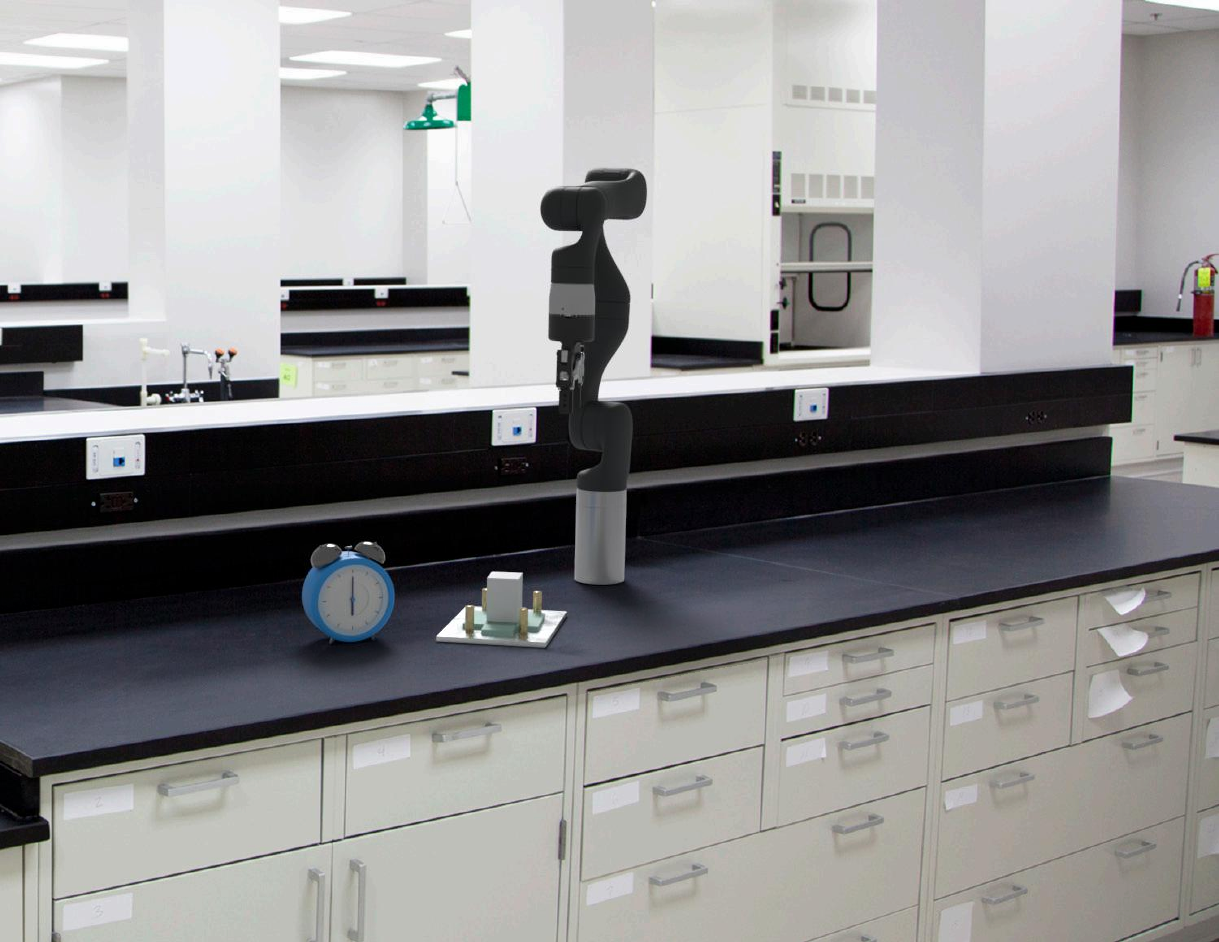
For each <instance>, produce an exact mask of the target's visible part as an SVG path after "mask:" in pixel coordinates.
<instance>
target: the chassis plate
mask: <svg viewBox="0 0 1219 942" xmlns="http://www.w3.org/2000/svg"><path fill="white" fill-rule="evenodd" d="M481 590H482V591H481V606H475V605H472V604H471V605H470V604H468V605H465V606H464V608H463V609H462V610H461V611H460V612H459V613H458V614H457V615H456V616H454V618H453V619H452V620H450V622H449V623H448V624H447V625H446V626H445V627H444V628H443V629H442V630H441V631H439V633H438V634H437V635H436V637H435V641H436V642H441V643H443V642H444V643H457V644H458V643H459V644H460V643H461V644H474V645H475V644H476V645H477V644H478V645H490V646H491V645H493V646H494V645H495V646H507V647H509V646H510V647H511V646H512V647H529V648H542V649H543V648H546V647H547V646H548V645H549V643H550V642H551V640H552V639H553V638H554V635H555V634H556V633H557V631H558V630H559V628H560V627H561V625H562V624H563V623H564V621H565V620H566V618H567V615H568V614H567V613H568V612H567V611H565V610H548V609H546V610H544V609H542V605H543V601H542V600H543V592H542V591H540V590H534V591H532V593H533V595H532V597H533V598H532V609H529V608H527V607H522V608H520V609H519V631H516V632H515V634H514V635H513V636H499V635H481V629H474V610H475V611H487V587H484V588H482V589H481ZM528 613H545V619H544V621H543V623H542V625H541V627H540V629H539V631H538V632H536V631H528ZM464 621H465V628H462V623H463V622H464Z"/></svg>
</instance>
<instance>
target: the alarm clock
mask: <svg viewBox="0 0 1219 942" xmlns="http://www.w3.org/2000/svg"><path fill="white" fill-rule="evenodd" d="M344 549H345V550H347V551H342V549H341V547H339V546H338V545H337V544H335V543H325V544H322V545H321V544H320V545H319V546H318V547H317V548H316V549H315V550H314V551H313V552H312V555H311V557H310V563H311V566H312V568H311V569H310V570H309V571H308V574H307V575H306V578H305V580H304V582H303V586H302V591H301V600H302V601H301V602H302V606H303V610H304V612H305V614H306V616H307V617H308V619H309V620H310V623H312V624H313V625H314V626H315V627H316V628H318V630H320V631H321V632H323V634H324V635H326V636H328V637H329V638H330V640H329V645H332V644H333V643H334V641H335V640H336V641H338V642H345V643H356V642H360V641H363V640H366V639H369V638H371V640H372V641H375V637H374V635H375V634H377V633H378V632H379V631H380V630H381V629H382V628H383V627H384V626H385V625H386V624H387V622H388V620H390V617H391V615H392V613H393V610H394V606H395V597H396V596H395V587H394V583H393V581H392V579H391V577H390V576H389V575H390V574H389V573H388V572H387V571H386V570H385V569H384V567H382V566H381V565H380V564H384V562H385V561H386V555H385V552H384V550H383V549H382V547H381V546H380V545H378V543H377V541H374V542H371V541H361V542H358V544H356V545H355V547H354V550H355V551H357V552H355V551H350V550H351V549H353V546H352V545H349V546H345V547H344ZM370 558H371V559H370ZM374 560H375V561H374ZM377 562H378V563H380V564H378V563H377Z"/></svg>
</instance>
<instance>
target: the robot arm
mask: <svg viewBox="0 0 1219 942" xmlns="http://www.w3.org/2000/svg"><path fill="white" fill-rule="evenodd" d="M647 198H648V187H647V181H646V177H645V176H644V174H643V173H642V172H641V171H639V170H638V169H635V168H628V167H624V168H622V167H603V166H602V167H601V166H600V167H599V166H595V167H592V168H590V169H588V171H587V172H586V175H585V179H584V183H581V184H578V185H570V186H569V185H560V186H559V185H557V186H554V187H551V188H549V189H548V190H547V191H546V192H545V193H544V195H543V197H542V198H541V201H540V211H539V212H540V217H541V219H542V221H543V223H544V225H546V227H548V228H549V229H551V230H553V231H558V232H582V233H581V236H580V238H579V239H578V240H577V241H576V242H575V243H573V244H569V245H568V244H567V245H563V246H558V247H556V248H554V250H552V253H551V257H550V258H551V259H550V261H551V262H550V263H551V264H550V265H551V266H550V267H551V268H550V289H549V296H548V325H547V326H548V331H547V332H548V333H547V336H548V337H547V338H548V339H549V341H551V342H559V343H561V348H560V349H557V351H556V375H555V377H556V379H555V387H556V388H557V390H558V413H559V414H561V415H568V434H569V440H570V442H571V444H572V446H574V448H576V449H578V450H584V451H591V452H592V451H593V452H602V454H601V459H600V463H598V464H597V465H595V466H593V467H590V468H586V469H584V470H580V471H579V472H578V473H577V476H576V501H575V503H576V504H575V548H574V580H575V581H576V582H578V583H582V584H588V585H598V586H599V585H603V586H604V585H605V586H607V585H616V584H621V583H623V582H624V581H625V563H626V562H625V561H626V558H625V557H626V531H627V530H626V528H627V527H626V524H627V523H626V521H627V520H626V519H627V489H628V480H629V479H628V478H629V474H630V468H631V457H632V455H631V453H632V443H633V442H632V441H633V430H634V429H633V427H634V425H633V423H634V422H633V416H632V412H631V409H630V408H629V406H628V405H627V404H626V403H623V402H619V401H607V400H599V392H600V387H601V386H600V385H601V380H602V377H603V375H604V372H605V370H606V368H607V367H608V364H609V363H610V362H611V360H612V358H613V357H614V356H615V354H616V352H617V351H618V350H619V348H620V346H621V345H622V343H623V342H624V340H625V339H626V336H627V334H628V331H629V326H630V325H629V324H630V313H631V312H630V311H631V292H630V289H629V286H628V284H627V281H626V279H625V277H624V275H623V274H622V272H621V270H620V268H619V267H618V265H617V263H616V261H615V260H614V258H613V256H612V254H611V251H610V249H609V247H608V244H607V241H606V236H605V229H604V225H605V221H607V220H619V221H621V220H622V221H631V220H634V219H638V218H640V217H641V216H642V215H643V213H644V211H645V209H646V206H647V200H648V199H647Z"/></svg>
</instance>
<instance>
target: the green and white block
mask: <svg viewBox="0 0 1219 942" xmlns="http://www.w3.org/2000/svg"><path fill="white" fill-rule="evenodd" d="M523 574H524V573H523V572H511V571H510V572H508V571H491V572H490V573H489V575H488V576H487V578H486V583H487V584H486V588H487V611H475V610H474V629H481V635H499V636H513V635H514V634H515V632H516V631H519V609H520V608H523V584H524V583H523V582H524V581H523V576H524V575H523ZM544 619H545V613H528V631H536V632H538V631H539V629H540V627H541V625H542V623H543V621H544ZM462 628H465V621H464V622H463V623H462Z"/></svg>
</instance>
